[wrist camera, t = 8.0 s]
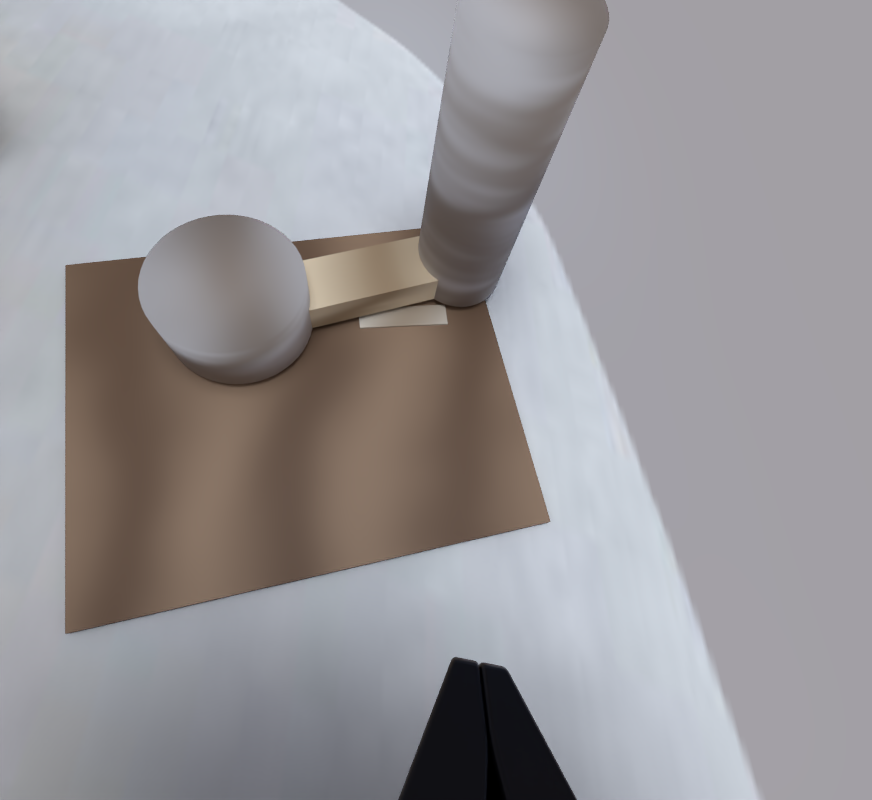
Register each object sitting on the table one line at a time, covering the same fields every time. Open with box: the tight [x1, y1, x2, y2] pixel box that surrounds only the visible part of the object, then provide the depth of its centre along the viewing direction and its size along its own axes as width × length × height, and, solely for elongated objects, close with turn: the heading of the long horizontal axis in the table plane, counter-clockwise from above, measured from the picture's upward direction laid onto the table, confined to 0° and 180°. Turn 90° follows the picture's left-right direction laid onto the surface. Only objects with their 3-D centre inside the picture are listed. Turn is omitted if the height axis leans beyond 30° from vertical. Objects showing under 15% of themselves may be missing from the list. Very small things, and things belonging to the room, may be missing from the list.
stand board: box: [65, 229, 550, 634], centre depth 22 cm, size 18×15×1 cm
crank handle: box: [138, 0, 609, 384], centre depth 18 cm, size 15×6×12 cm, turn 109°
